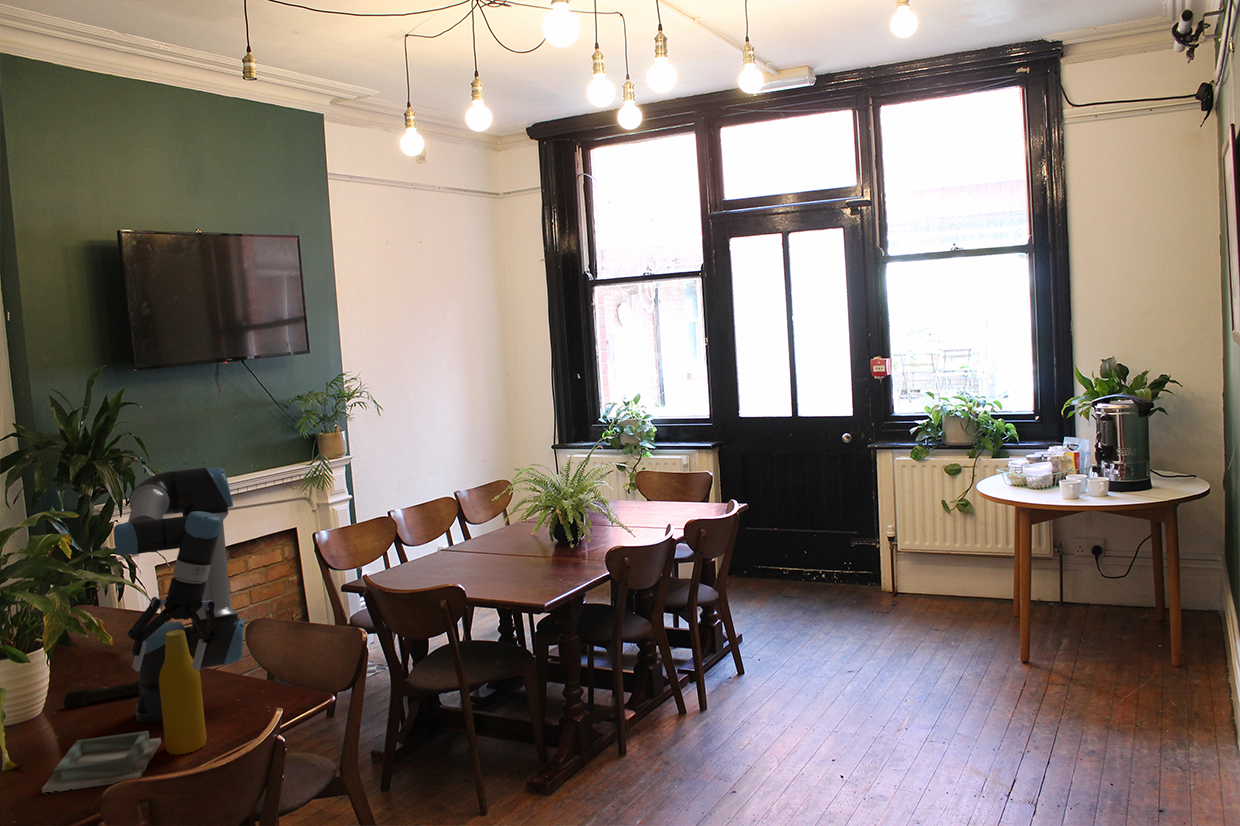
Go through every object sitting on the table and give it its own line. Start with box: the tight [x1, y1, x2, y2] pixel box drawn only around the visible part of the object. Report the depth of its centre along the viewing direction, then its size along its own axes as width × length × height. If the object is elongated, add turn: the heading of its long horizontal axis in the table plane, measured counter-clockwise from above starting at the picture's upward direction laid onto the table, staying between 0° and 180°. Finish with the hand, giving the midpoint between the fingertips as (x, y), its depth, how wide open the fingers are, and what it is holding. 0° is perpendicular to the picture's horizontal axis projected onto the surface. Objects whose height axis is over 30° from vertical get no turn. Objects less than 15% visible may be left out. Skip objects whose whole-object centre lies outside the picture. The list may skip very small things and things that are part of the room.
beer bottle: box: [159, 630, 208, 756], centre depth 231 cm, size 9×9×29 cm
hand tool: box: [63, 680, 141, 708], centre depth 265 cm, size 19×4×5 cm, turn 113°
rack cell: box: [41, 730, 162, 794], centre depth 224 cm, size 20×20×4 cm
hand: (166, 669), depth 218 cm, fingers open, 13 cm apart
